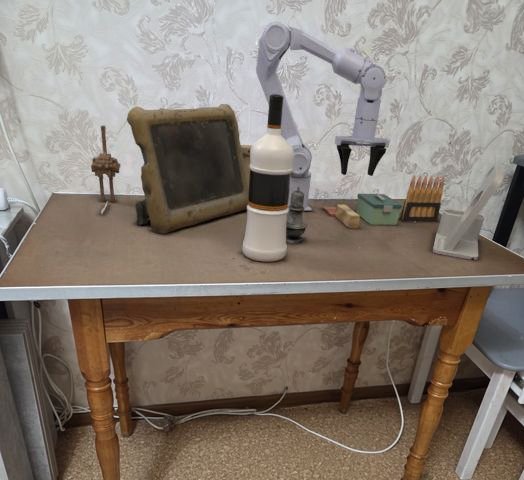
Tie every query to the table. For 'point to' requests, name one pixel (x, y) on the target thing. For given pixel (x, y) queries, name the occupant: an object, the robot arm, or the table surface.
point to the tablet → (188, 165)
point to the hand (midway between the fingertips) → (356, 174)
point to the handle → (246, 161)
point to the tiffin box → (378, 209)
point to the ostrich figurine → (105, 168)
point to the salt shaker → (295, 218)
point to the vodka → (269, 190)
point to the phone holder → (466, 222)
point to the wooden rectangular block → (344, 215)
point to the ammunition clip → (423, 200)
